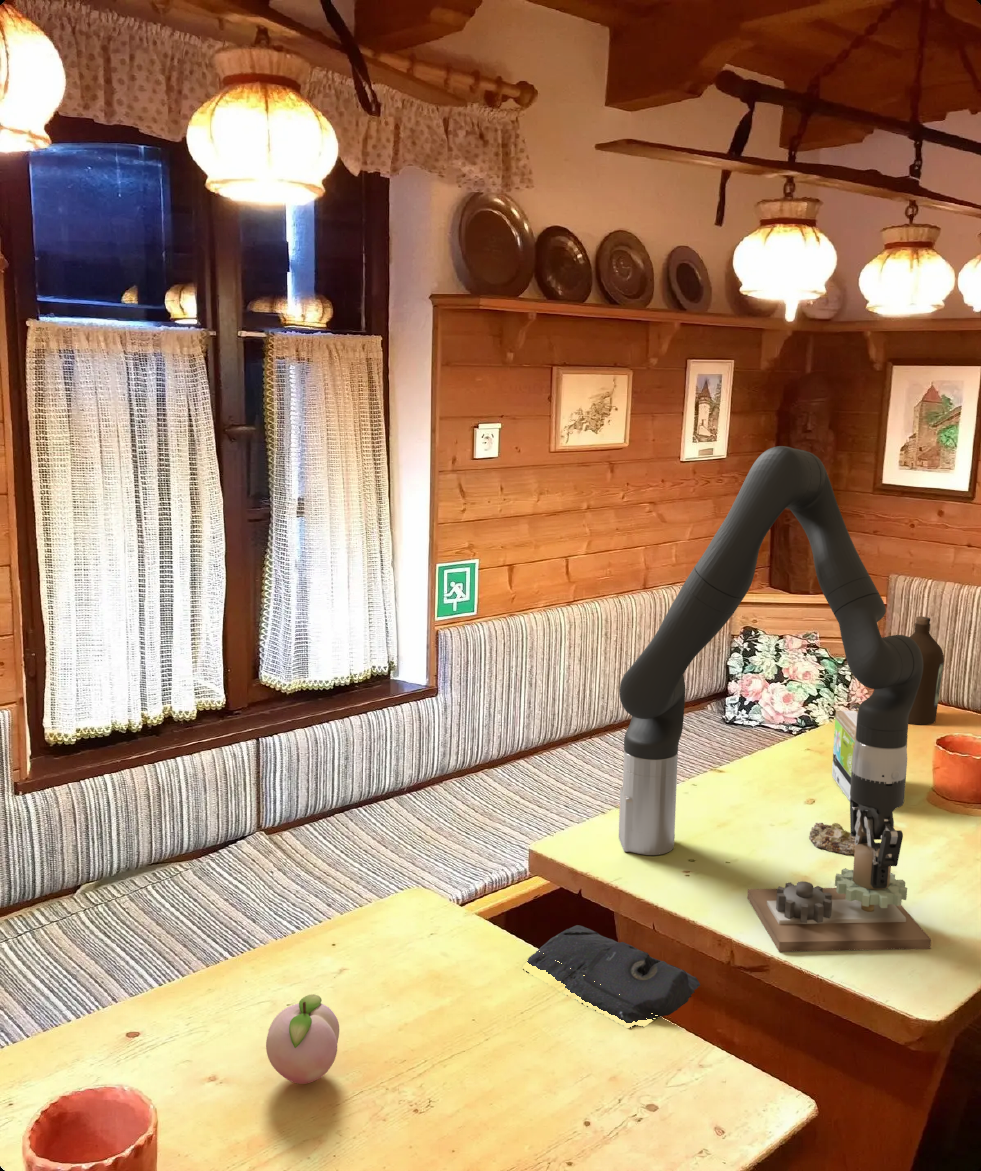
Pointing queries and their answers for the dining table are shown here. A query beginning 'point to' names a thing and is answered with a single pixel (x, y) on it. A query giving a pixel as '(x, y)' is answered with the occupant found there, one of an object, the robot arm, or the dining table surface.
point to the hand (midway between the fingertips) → (870, 877)
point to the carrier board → (832, 921)
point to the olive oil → (927, 675)
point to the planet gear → (868, 882)
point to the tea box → (844, 748)
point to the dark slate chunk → (614, 975)
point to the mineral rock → (832, 838)
